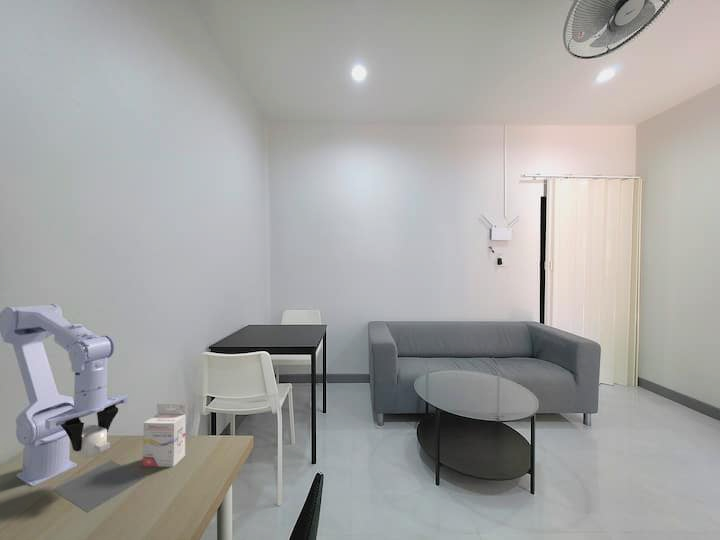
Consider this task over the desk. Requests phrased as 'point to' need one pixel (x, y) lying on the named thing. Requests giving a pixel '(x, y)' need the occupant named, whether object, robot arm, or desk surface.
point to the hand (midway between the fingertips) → (89, 444)
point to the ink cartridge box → (165, 436)
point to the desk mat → (98, 485)
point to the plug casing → (93, 441)
